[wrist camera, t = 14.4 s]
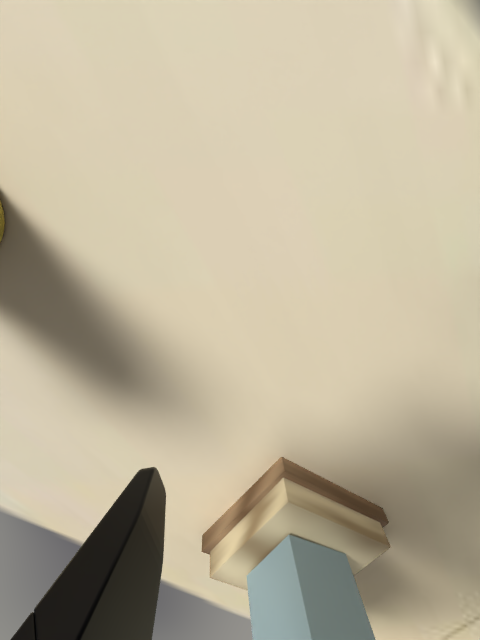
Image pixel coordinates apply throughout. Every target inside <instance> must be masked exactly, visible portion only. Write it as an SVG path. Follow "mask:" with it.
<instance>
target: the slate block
mask: <svg viewBox="0 0 480 640" xmlns="http://www.w3.org/2000/svg"><path fill="white" fill-rule="evenodd" d="M247 586H248V596H249V606H250V616H251V625H252V635H253V640H375V637H374V634H373V631H372V628H371V625H370V622H369V619H368V617H367V614H366V611H365V608H364V605H363V602H362V599H361V596H360V594H359V591H358V588H357V585H356V582H355V579H354V576H353V573H352V570H351V568H350V565H349V562H348V559H347V556H346V554H345V553H342V552H339V551H336V550H333V549H330V548H327V547H324V546H321V545H318V544H315V543H312V542H309V541H306V540H303V539H301V538H298V537H295V536H292V535H288V536H287V537H286V538H285V539H284V540H283V541H282V542H281V543H280V544H279V545H278V546H277V547H276V548H275V549H274V550H272V551H271V552H270V553H269V554H268V555H267V556H266V557H265V558H264V559H263V560H262V561H261V562H260V563H259V564H258V565H257V566H256V567H255V568H254V569H253V570H252V571H251V572H250V573H249V574H248V575H247Z"/></svg>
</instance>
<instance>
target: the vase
mask: <svg viewBox="0 0 480 640" xmlns="http://www.w3.org/2000/svg"><path fill="white" fill-rule="evenodd" d="M4 226H5V219H4V211H3V208H2V204H1V201H0V242H1V240H2V237H3V233H4Z"/></svg>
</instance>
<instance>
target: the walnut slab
mask: <svg viewBox="0 0 480 640" xmlns="http://www.w3.org/2000/svg"><path fill="white" fill-rule="evenodd" d="M282 478H285V479H288V480H290V481H292V482H294V483H296V484H298V485H300V486H303V487H305V488H307V489H309V490H311V491H313V492H316V493H318V494H320V495H322V496H324V497H326V498H328V499H331V500H333V501H335V502H337V503H339V504H341V505H343V506H346V507H348V508H350V509H352V510H354V511H356V512H358V513H361V514H363V515H365V516H367V517H369V518H371V519H373V520H376V521H378V522H380V523H381V526H382V528H383V527H384V526H385V525H387V524H388V523H389V522H388V520H387V517H386V515H385V513H384V511H383V509H382V508H381V507H379V506H377V505H375V504H373V503H371V502H369V501H367V500H365V499H363V498H361V497H359V496H357V495H355V494H353V493H351V492H349V491H348V490H346V489H344V488H342V487H340V486H338V485H336V484H334V483H332V482H330V481H328V480H326V479H324V478H322V477H320V476H318V475H316V474H314V473H312V472H310V471H308V470H307V469H305V468H303V467H301V466H299V465H297V464H295V463H293V462H291V461H289V460H287V459H285V458H283V457H281V458H280V459H279V460H278V461H277V462H276V463H275V464H274V465H273V466H272V467H271V468H270V469H269V470H268V471H267V472H266V473H265V474H264V475H263V476H262V477H261V478H260V479H259V480H258V481H257V482H256V483H255V484H254V485H253V486H252V487H251V488H250V489H249V490H248V491H247V492H246V493H245V494H244V495H243V496H242V497H241V498H240V499H239V500H238V501H237V502H236V503H235V504H234V505H233V506H232V507H231V508H230V509H228V510H227V511H226V512H225V513H224V514H223V515H222V516H221V517H220V518H219V519H218V520H217V521H216V522H215V523H214V524H213V525H212V526H211V527H210V528H209V529H208V530H207V531H206V532H205V533H204V534H203V535H202V552H204V553H207V554H210V551H211V550H212V549H213V548H214V547H215V546H216V545H217V544H218V543H219V542H220V541H221V540H222V539H223V538H224V537H225V536H226V535H227V534H228V533H229V532H230V531H231V530H232V529H233V528H234V527H235V526H236V525H237V524H238V523H239V522H240V521H241V520H242V519H243V518H244V517H245V516H246V515H247V514H248V513H249V512H250V511H251V510H252V509H253V508H254V507H255V506H256V505H257V504H258V503H259V502H260V501H261V500H262V499H263V498H264V497H265V496H266V495H267V494H268V493H269V492H270V491H271V490H272V489H273V488H274V487H275V486H276V485H277V484H278V483H279V482H280V481H281V480H282Z"/></svg>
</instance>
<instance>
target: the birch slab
mask: <svg viewBox="0 0 480 640" xmlns="http://www.w3.org/2000/svg"><path fill="white" fill-rule="evenodd" d="M288 535H292V536H295V537H298V538H301V539H303V540H306V541H309V542H312V543H315V544H318V545H321V546H324V547H327V548H330V549H333V550H336V551H339V552H342V553H345V554H346V556H347V559H348V562H349V565H350V568H351V570H352V573H353V576H354V575H356V574H357V573H358V572H359V571H361V570H362V569H363V568H365V567H366V566H367V565H368V564H370V563H371V562H372V561H374V560H375V559H376V558H377V557H379V556H380V555H381V554H383V553H384V552H385V551H386V550H388V549H389V548H390V547H391V546H390V544H389V542H388V539H387V537H386V535H385V533H384V530H383V528H382V526H381V523H380V522H378V521H376V520H373V519H371V518H369V517H367V516H365V515H363V514H361V513H358V512H356V511H354V510H352V509H350V508H348V507H346V506H343V505H341V504H339V503H337V502H335V501H333V500H331V499H328V498H326V497H324V496H322V495H320V494H318V493H316V492H313V491H311V490H309V489H307V488H305V487H303V486H300V485H298V484H296V483H294V482H292V481H290V480H288V479H285V478H282V480H281V481H280V482H279V483H278V484H277V485H276V486H275V487H274V488H273V489H272V490H271V491H270V492H269V493H268V494H267V495H266V496H265V497H264V498H263V499H262V500H261V501H260V502H259V503H258V504H257V505H256V506H255V507H254V508H253V509H252V510H251V511H250V512H249V513H248V514H247V515H246V516H245V517H244V518H243V519H242V520H241V521H240V522H239V523H238V524H237V525H236V526H235V527H234V528H233V529H232V530H231V531H230V532H229V533H228V534H227V535H226V536H225V537H224V538H223V539H222V540H221V541H220V542H219V543H218V544H217V545H216V546H215V547H214V548H213V549H212V550H211V551H210V578H212V579H215V580H218V581H221V582H224V583H227V584H230V585H233V586H236V587H239V588H242V589H245V590H248V586H247V575H248V574H249V573H250V572H251V571H252V570H253V569H254V568H255V567H256V566H257V565H258V564H259V563H260V562H261V561H262V560H263V559H264V558H265V557H266V556H267V555H268V554H269V553H270V552H271V551H272V550H274V549H275V548H276V547H277V546H278V545H279V544H280V543H281V542H282V541H283V540H284V539H285V538H286V537H287V536H288Z"/></svg>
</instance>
